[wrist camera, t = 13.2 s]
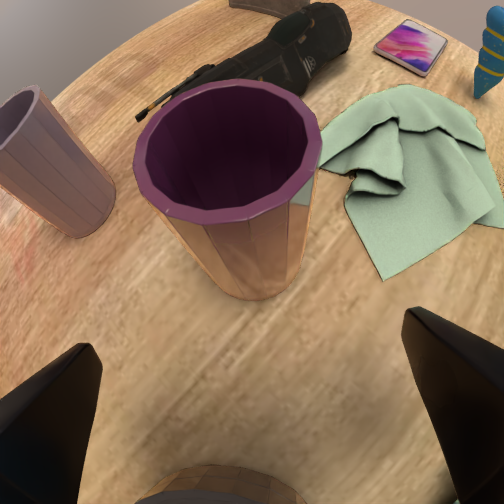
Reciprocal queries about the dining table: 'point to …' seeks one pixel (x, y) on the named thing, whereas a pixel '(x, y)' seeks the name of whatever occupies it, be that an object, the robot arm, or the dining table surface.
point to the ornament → (490, 53)
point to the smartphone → (412, 46)
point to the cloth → (411, 173)
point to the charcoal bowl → (220, 488)
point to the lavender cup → (51, 166)
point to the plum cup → (234, 181)
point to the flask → (271, 6)
